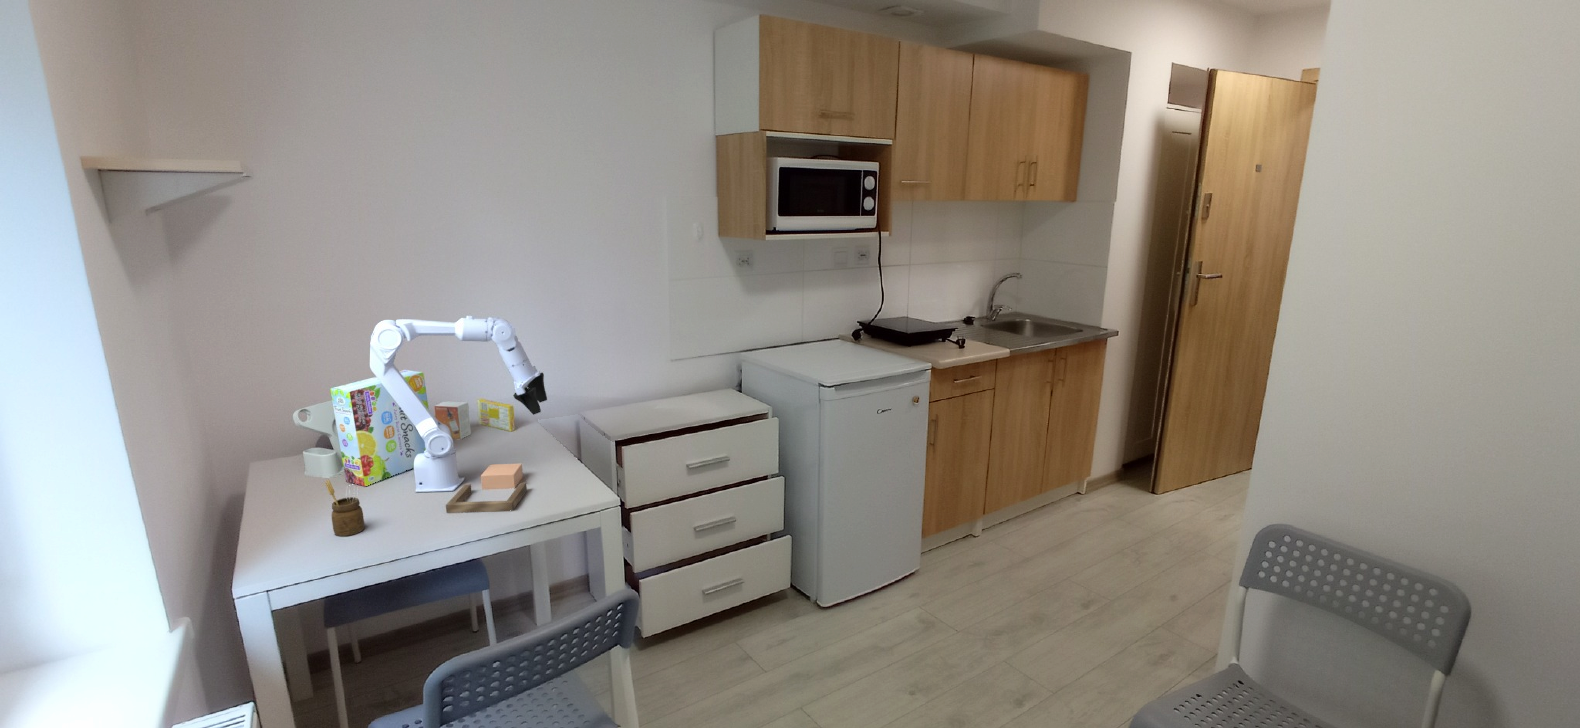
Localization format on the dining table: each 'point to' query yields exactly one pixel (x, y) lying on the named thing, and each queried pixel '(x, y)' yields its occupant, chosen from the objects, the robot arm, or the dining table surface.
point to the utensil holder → (346, 514)
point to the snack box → (376, 429)
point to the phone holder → (324, 422)
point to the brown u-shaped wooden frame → (484, 506)
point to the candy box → (496, 414)
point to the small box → (454, 418)
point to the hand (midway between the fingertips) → (540, 407)
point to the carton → (501, 476)
